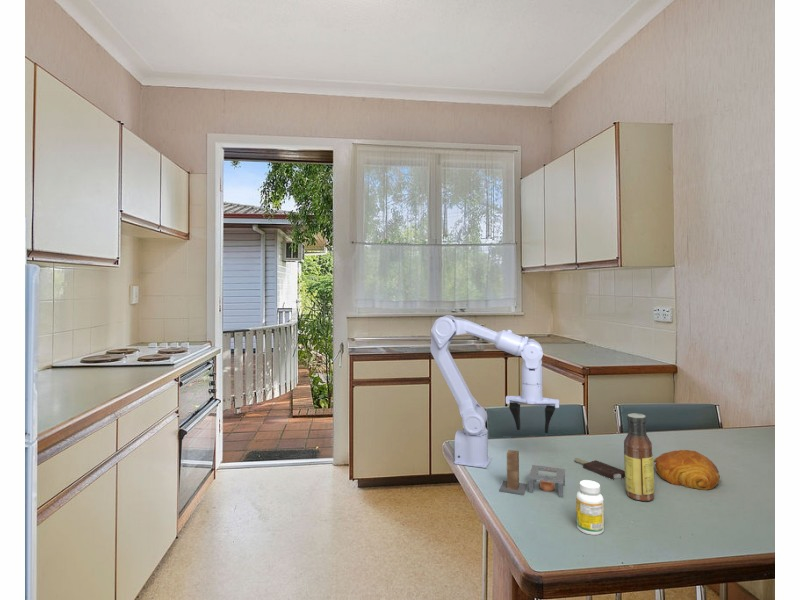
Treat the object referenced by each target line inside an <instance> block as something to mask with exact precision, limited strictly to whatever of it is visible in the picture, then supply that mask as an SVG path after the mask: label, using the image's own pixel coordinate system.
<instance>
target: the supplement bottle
mask: <svg viewBox="0 0 800 600" xmlns="http://www.w3.org/2000/svg"><path fill="white" fill-rule="evenodd" d="M604 500H605V499H604V496H603V495H602V494H601V485H600V483H598V481H594V480H591V479H590V480H589V479H583V480H580V482H579V490H578V491H577V492H576V499H575V501H576V503H575V505H576V513H575V515H576V519H575V520H576V522H575V523H576V524H575V525H576V528H577V529H578V530H579V531H581V532H582V533H583V534H586V535H592V536H598V535H601V534H603V532H604V530H605V529H604V528H605V524H604V523H605V522H604V521H605V519H604V515H605V514H604V513H605V510H604V506H605V505H604Z"/></svg>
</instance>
